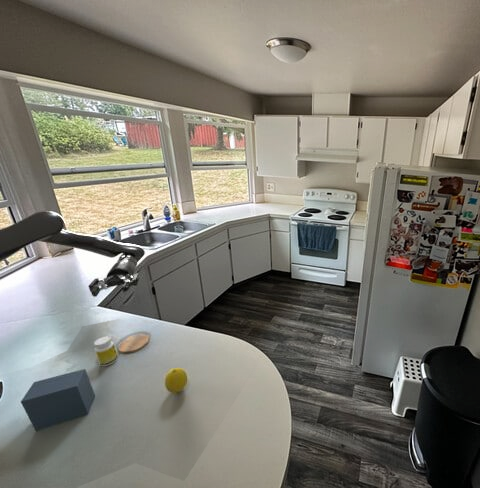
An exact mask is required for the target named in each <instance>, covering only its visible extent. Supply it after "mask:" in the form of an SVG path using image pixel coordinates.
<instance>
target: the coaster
mask: <svg viewBox="0 0 480 488" xmlns="http://www.w3.org/2000/svg"><path fill="white" fill-rule="evenodd" d="M149 343H150V336H149V335H148V334H144V333H138V334H135V335H131V336H128V337H127V338H125V339H123V340H122V341H121V342H120V343H119V344H118V346H117V350H118V351H119V353H121V354H131V353H135V352H137V351H139V350H142V349H143V348H145V347H146V346H147V345H148V344H149Z"/></svg>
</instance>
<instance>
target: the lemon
mask: <svg viewBox="0 0 480 488" xmlns="http://www.w3.org/2000/svg"><path fill="white" fill-rule="evenodd" d="M187 383H188V375H187V371H185V369H183V368H182V367H174V368H172V369H170V370H168V372H167V373H166V375H165V377H164V387H165V389H166V390H167V391H168V392H169V393H172V394H176V393H179V392H181V391H183V389H184V388H185V387H186V385H187Z"/></svg>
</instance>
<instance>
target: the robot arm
mask: <svg viewBox="0 0 480 488" xmlns="http://www.w3.org/2000/svg"><path fill="white" fill-rule="evenodd" d="M65 224H66V223H65V220H64V218H63V216H61V215H60V214H59V213H57V212H54V211H50V210H49V211H47V210H41V211H36V212H33V213H31V214H29V215H28V216H27V217H24V218H23V219H21V220H19V221H17V222H15V223H13V224H11V225H9V226H6V227H3V228H1V229H0V263H2V262H4V261H5V260H7V259H8V258H10V257H11V256H13V255H15V254H16V253H18V252H19V251H22V249H24V248H25V247H27V246H29V245H31V244H34V243H36V242H42V243H48V244H54V245H59V246H64V247H68V248H73V249H78V250H82V251H87V252H90V253H94V254H97V255H100V256H104V257H107V258H112V259H113V258H116V257H117V256H118V258H117V261H116V262H115V263H114V264H113V265H112V267H111V268H110V269H109V270H108V272H107V274H106V277H105V278H103V279H99V278H94V279H93V280H92V281H91V282H90V283H89V285H88V289H89V292H90V293H91V296H92V297H93V298H95V297H98V295H99V294H100V292H101V291H103V290H108V289H110V288H112V287H118V286H122V287H121V290H122V292H123V293H126V292H127V291H129V290H130V289H131V288H132V286H134V287H136V286H138V284H139V281H140V277H139V273H138V272H135V269H136V268H137V266H138V263H139V261H141V259H142V258H143V257H144V256H145V254H146V251H145V249H144V248H143V247H142V246H140V245H137V244H132V243H123V242H117V241H114V240H111V239H109V238H105V237H102V236H98V235H91V234H83V233H77V232H72V231H69V230H65V229H64V228H65ZM119 255H120V256H119Z"/></svg>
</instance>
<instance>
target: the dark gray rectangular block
mask: <svg viewBox="0 0 480 488" xmlns="http://www.w3.org/2000/svg"><path fill="white" fill-rule="evenodd" d="M95 397H96V394H95V391H94V389H93V386H92V383H91V381H90V378H89V375H88V372H87V370H86V368H83V369H79V370H75V371H72V372H67V373H64V374H60V375H55V376H52V377H47V378H43V379H41V380H37V381H33V383H32V384H31V385H30V387H29V389H28V391H27V392H26V393H25V394H24V396H23V398H21V400H20V403H21V405H22V407H23V409H24V411H25V414H26V415H27V417H28V419H29V421H30V423H31V425H32V427H33V429H34V431H35V432H37V431H41V430H44V429H46V428H50V427H52V426H56V425H59V424H62V423H65V422H68V421H71V420H74V419H77V418H80V417H84V416H87V415H89V413H90V411H91V409H92V405H93V403H94V401H95Z"/></svg>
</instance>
